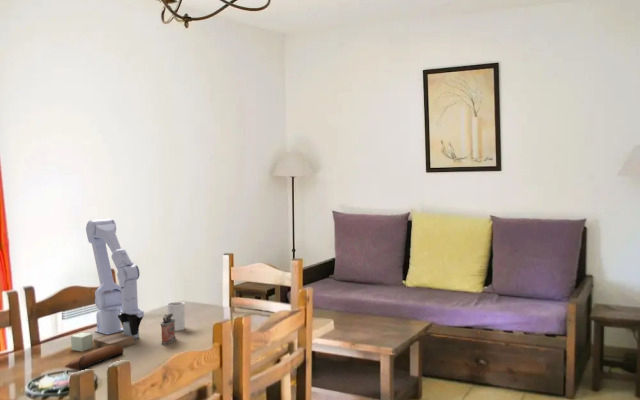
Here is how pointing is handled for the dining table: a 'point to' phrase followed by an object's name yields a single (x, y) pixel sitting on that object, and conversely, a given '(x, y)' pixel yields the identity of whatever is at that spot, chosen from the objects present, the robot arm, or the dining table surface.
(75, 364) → the brown tapered cylinder
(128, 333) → the blue block
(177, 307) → the white cup
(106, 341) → the walnut block
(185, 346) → the dining table surface
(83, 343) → the sage cube
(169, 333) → the lighter
